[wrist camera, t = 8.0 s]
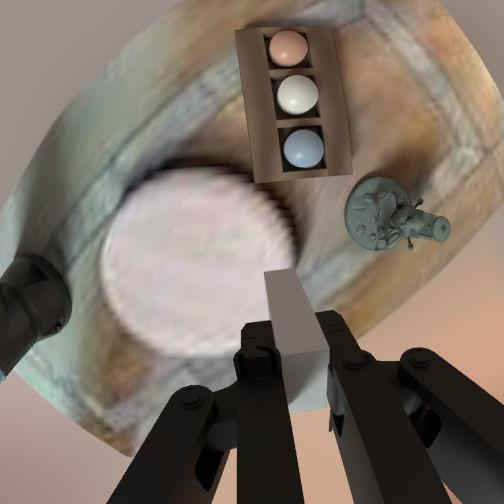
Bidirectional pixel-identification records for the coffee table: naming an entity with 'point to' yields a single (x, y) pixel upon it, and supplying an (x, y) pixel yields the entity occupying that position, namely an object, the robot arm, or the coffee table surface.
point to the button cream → (297, 95)
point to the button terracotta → (287, 49)
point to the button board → (283, 124)
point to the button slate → (303, 148)
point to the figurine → (388, 216)
